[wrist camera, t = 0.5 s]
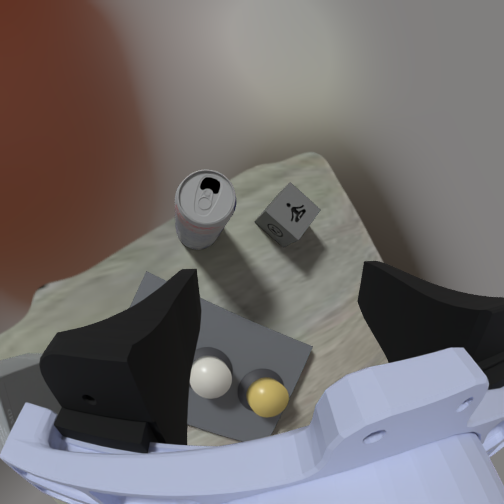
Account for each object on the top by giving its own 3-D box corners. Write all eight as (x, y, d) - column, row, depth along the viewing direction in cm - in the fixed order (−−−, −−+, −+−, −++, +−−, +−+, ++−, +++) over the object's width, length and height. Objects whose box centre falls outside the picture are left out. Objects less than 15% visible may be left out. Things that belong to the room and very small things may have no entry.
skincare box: (78, 411, 28) (30, 469, 12) (36, 407, 26) (-22, 454, 11) (64, 349, 29) (-2, 380, 13) (22, 349, 27) (-50, 371, 12)
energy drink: (224, 215, 36) (245, 178, 25) (212, 255, 35) (228, 235, 24) (184, 202, 35) (187, 159, 24) (170, 242, 34) (165, 215, 23)
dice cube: (283, 247, 38) (298, 240, 33) (254, 221, 37) (265, 211, 32) (304, 220, 39) (320, 209, 34) (276, 195, 38) (290, 182, 34)
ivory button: (219, 397, 29) (222, 404, 27) (182, 383, 29) (183, 389, 27) (234, 364, 30) (238, 368, 28) (198, 349, 30) (199, 353, 28)
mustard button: (273, 415, 30) (278, 421, 28) (240, 405, 30) (244, 411, 28) (288, 383, 31) (294, 388, 29) (255, 372, 31) (260, 376, 29)
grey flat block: (260, 440, 33) (264, 447, 31) (103, 380, 29) (98, 384, 27) (306, 344, 36) (313, 346, 34) (148, 272, 33) (146, 270, 31)
